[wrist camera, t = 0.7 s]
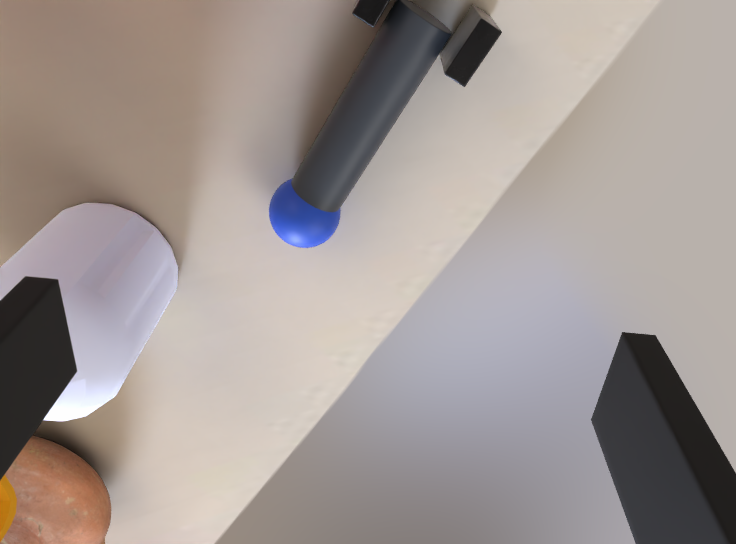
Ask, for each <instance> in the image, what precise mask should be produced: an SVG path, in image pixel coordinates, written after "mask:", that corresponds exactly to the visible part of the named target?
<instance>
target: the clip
mask: <svg viewBox="0 0 736 544" xmlns="http://www.w3.org/2000/svg"><path fill="white" fill-rule="evenodd" d="M389 1H390V0H358V1H357V3H356V5H355V8H354V10H353V13H352V14H353V15H354V16H356V17H357V18H359V19H360V20H362V21H363V22H365V23H366V24H368V25H370V26H371V27H375V25H376V23H377V21H378V20H379V18H380V16H381V15H382V13H383V11H384V9H385V8H386V6H387V4H388V2H389ZM501 33H502V32H501V30H500V29H499V27H498V26H497V25H496V23H495V22H494V20H493V19H492V18H491V16H490V15H488V14H487V13H485V12H484V11H482V10H481V9H479V8H478V7H476V6H475V5H474V4H472V5H471V7H470V8H469V10H468V12H467V13H466V15H465V16H464V18H463V19H462V21H461V22H460V24H459V26H458V27H457V29H456V30H455V32H454V33H453V35H452V36H451V38H450V40H449V41H448V43H447V44H446V46H445V47H444V49H443V50H442V52H441V53H440V56H441V60H442V65H443V69H444V73H445V75H446V76H448V77H450V78H451V79H453V80H454V81H456V82H457V83H459V84H460V85H462V86H463V87H465V86H466V84H467V83H468V81H469V80H470V78H471V77H472V76H473V74H474V73H475V71H476V70H477V68H478V67H479V65H480V64H481V62H482V61H483V59H484V58H485V57H486V55H487V54H488V52H489V51H490V49H491V48H492V46H493V45H494V43H495V42H496V40H497V39H498V38H499V36H500V35H501Z"/></svg>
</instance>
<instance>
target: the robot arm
mask: <svg viewBox="0 0 736 544" xmlns="http://www.w3.org/2000/svg"><path fill="white" fill-rule="evenodd" d="M76 372H77V367H76V362H75V357H74V352H73V348H72V343H71V338H70V333H69V329H68V324H67V319H66V314H65V310H64V305H63V300H62V295H61V290H60V286H59V281H58V279H51V278H40V277H29V276H25V277H24V278H23V279H22V280H21V281H20V282H19V283H18V284H17V285H16V286H15V287H14V288H13V289H12V290H11V291H10V292H9V293H8V294H7V295H6V296H4V297H3V298H2V299H1V300H0V480H1V479H2V478H3V476H4V475H5V473H6V472H7V470H8V469H9V468H10V466H11V465H12V463H13V462H14V460H15V459H16V458H17V456H18V455H19V453H20V452H21V451H22V449H23V448H24V446H25V445H26V443H27V442H28V441H29V439H30V438H31V436H32V435H33V434H34V432H35V431H36V429H37V428H38V426H39V425H40V424H41V422H42V421H43V419H44V418H45V416H46V415H47V414H48V412H49V411H50V409H51V408H52V407H53V405H54V404H55V402H56V401H57V399H58V398H59V397H60V395H61V394H62V392H63V391H64V390H65V388H66V387H67V385H68V384H69V382H70V381H71V380H72V378H73V377H74V375H75V374H76ZM591 421H592V424H593V426H594V429H595V432H596V435H597V437H598V440H599V443H600V446H601V448H602V451H603V454H604V457H605V460H606V462H607V465H608V468H609V471H610V473H611V476H612V479H613V482H614V485H615V487H616V490H617V493H618V495H619V498H620V501H621V504H622V507H623V509H624V512H625V515H626V518H627V520H628V523H629V526H630V529H631V531H632V534H633V537H634V540H635V543H636V544H736V473H735V471H734V469H733V468H732V466H731V464H730V463H729V461H728V459H727V457H726V456H725V454H724V452H723V451H722V449H721V447H720V445H719V444H718V442H717V440H716V439H715V437H714V435H713V433H712V432H711V430H710V428H709V427H708V425H707V423H706V422H705V420H704V418H703V416H702V414H701V413H700V411H699V409H698V408H697V406H696V404H695V402H694V401H693V399H692V397H691V396H690V394H689V392H688V390H687V389H686V387H685V386H684V384H683V382H682V380H681V379H680V377H679V375H678V373H677V372H676V370H675V368H674V366H673V365H672V363H671V361H670V360H669V358H668V356H667V354H666V353H665V351H664V349H663V348H662V346H661V344H660V342H659V341H658V339H657V337H656V336H655V335H646V334H636V333H625V332H622V335H621V337H620V340H619V343H618V346H617V349H616V352H615V354H614V357H613V360H612V363H611V365H610V368H609V371H608V374H607V377H606V380H605V382H604V385H603V388H602V391H601V393H600V397H599V399H598V402H597V405H596V408H595V410H594V413H593V416H592V419H591Z"/></svg>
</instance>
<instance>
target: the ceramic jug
mask: <svg viewBox="0 0 736 544" xmlns="http://www.w3.org/2000/svg"><path fill="white" fill-rule="evenodd" d="M5 476H6V477H7V479H8V480H9V482H10V484H11V485H12V487H13V488H14V491H15V494H16V498H17V506H16V514H15V517H14V519H13V521H12V524H11V526H10V528H9V529H8V531H7V533H6V534H5V536H4V538H3V539H2V541H1V542H0V544H105V536H106V533H107V531H108V528H109V525H110V519H111V502H110V497H109V494H108V491H107V489H106V486H105V485H104V482H103V481H102V479H101V478H100V476H99V475H98V474H97V472H96V471H95V470H94V469H93V468H92V467H91V466H90V465H89V464H88V463H87V462H86V461H85V460H83V459H82V458H81V457H79V456H78V455H76V454H75V453H73V452H72V451H70V450H68V449H66V448H65V447H63V446H61V445H59V444H57V443H54V442H52V441H49V440H46V439H43V438H40V437H36V436H31V438H30V439H29V441H28V442H27V443H26V445H25V446H24V448H23V449H22V451H21V452H20V453H19V455H18V456H17V458H16V459H15V460H14V462H13V463H12V465H11V466H10V468H9V469H8V470H7V472H6V473H5Z"/></svg>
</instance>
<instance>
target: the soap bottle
mask: <svg viewBox="0 0 736 544" xmlns="http://www.w3.org/2000/svg"><path fill="white" fill-rule="evenodd" d="M25 276H29V277H40V278H51V279H58V281H59V286H60V290H61V295H62V300H63V305H64V310H65V314H66V319H67V324H68V329H69V333H70V338H71V343H72V348H73V352H74V357H75V362H76V367H77V372H76V374H75V375H74V377H73V378H72V380H71V381H70V382H69V384H68V385H67V387H66V388H65V390H64V391H63V392H62V394H61V395H60V397H59V398H58V399H57V401H56V402H55V404H54V405H53V407H52V408H51V409H50V411H49V412H48V414H47V415H46V416H45V418H44V419H43V420H49V421H67V420H72V419H76V418H81V417H85V416H87V415H89V414H90V413H92V412H93V411H95V410H96V409H98V408H99V407H100V406H102V405H103V404H105V403H106V402H108V401H109V400H111V399H112V398H114V397H115V396H116V395H117V393H118V391H119V389H120V388H121V386H122V384H123V382H124V381H125V379H126V377H127V375H128V374H129V372H130V370H131V368H132V367H133V365H134V363H135V361H136V360H137V358H138V356H139V354H140V353H141V351H142V349H143V347H144V346H145V344H146V342H147V340H148V339H149V337H150V335H151V333H152V332H153V330H154V328H155V327H156V325H157V323H158V321H159V320H160V318H161V316H162V314H163V313H164V311H165V309H166V307H167V306H168V304H169V302H170V300H171V298H172V297H173V295H174V293H175V291H176V289H177V282H178V265H177V263H176V260H175V257H174V254H173V251H172V248H171V246H170V245H169V243H168V242H167V241H166V239H165V238H164V237H163V236H162V234H161V233H160V232H159V230H158V229H157V228H156V227H155V226H153V225H152V224H151V223H149V222H148V221H147V220H145V219H144V218H142V217H141V216H140V215H138V214H137V213H135V212H132V211H130V210H127V209H124V208H121V207H119V206H116V205H113V204H102V203H83V204H80V205H77V206H73V207H70V208H67V209H63V210H62V211H61V212H60V213H59V214H58V215H57V216H56V217H54V218H53V219H52V220H51V221H50V222H49V223H48V224H47V225H45V226H44V227H43V228H42V229H41V230H40V231H39V232H38V233H37V234H36V235H35V236H34V237H32V238H31V239H30V240H29V241H28V242H27V243H26V244H25V245H24V246H23V247H22V248H21V249H19V250H18V251H17V252H16V253H15V254H14V255H13V256H12V257H11V258H10V259H9V260H8V261H6V262H5V263H4V264H3V265H2V266H1V267H0V300H1V299H2V298H3V297H4V296H6V295H7V294H8V293H9V292H10V291H11V290H12V289H13V288H14V287H15V286H16V285H17V284H18V283H19V282H20V281H21V280H22V279H23V278H24V277H25ZM16 506H17V498H16V494H15V491H14V488H13V487H12V485H11V484H10V482H9V480H8V479H7V477H6V476H5V475H4V476H3V478H2V479H1V480H0V542H1V541H2V539H3V538H4V536H5V534H6V533H7V531H8V529H9V528H10V526H11V524H12V521H13V519H14V517H15V514H16Z"/></svg>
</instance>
